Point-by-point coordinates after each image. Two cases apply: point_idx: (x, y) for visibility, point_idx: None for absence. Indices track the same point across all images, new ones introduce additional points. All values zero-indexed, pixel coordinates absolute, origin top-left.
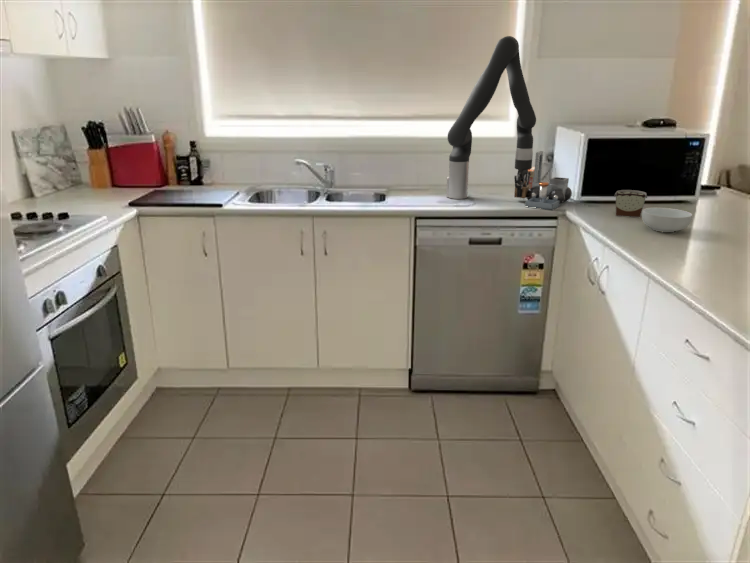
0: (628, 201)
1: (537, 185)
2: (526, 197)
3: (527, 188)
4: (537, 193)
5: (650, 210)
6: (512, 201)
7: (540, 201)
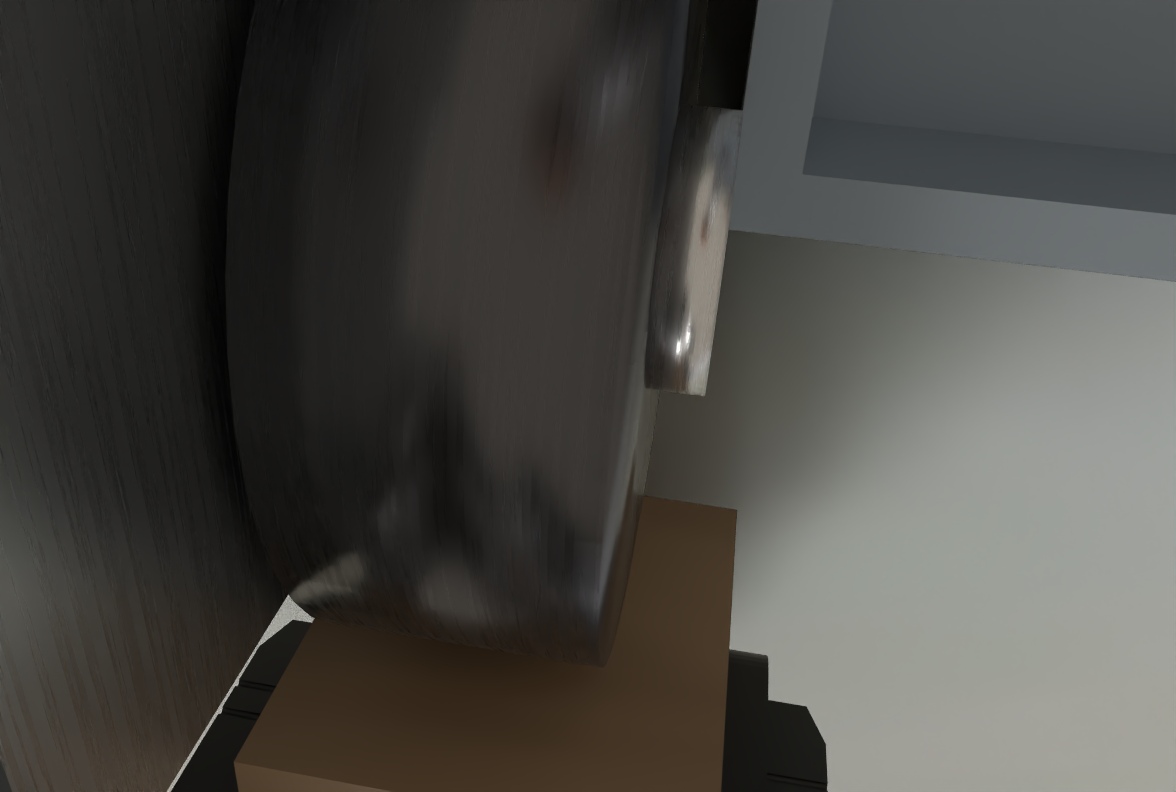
0: None
1: (125, 416)
2: None
3: (411, 754)
4: (677, 86)
5: None
6: None
7: None
